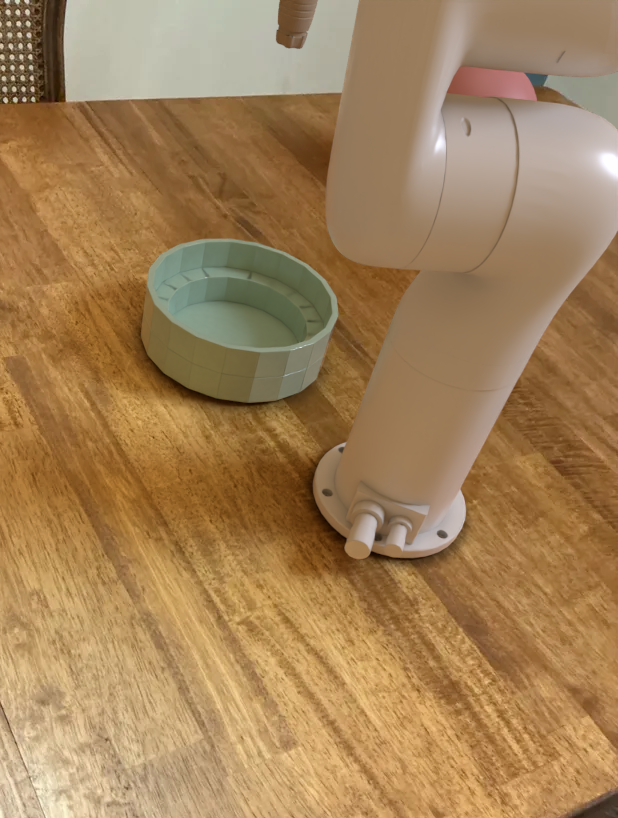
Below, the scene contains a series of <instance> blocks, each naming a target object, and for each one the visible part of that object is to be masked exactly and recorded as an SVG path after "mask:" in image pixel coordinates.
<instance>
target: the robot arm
mask: <svg viewBox="0 0 618 818" xmlns="http://www.w3.org/2000/svg"><path fill="white" fill-rule="evenodd" d="M357 3H358V4H357V8H356V14H355V20H354V23H353V31H352V36H351V41H350V45H349V46H350V47H349V52H348V56H347V63H346V69H345V74H344V79H343V84H342V90H341V95H340V101H339V107H338V112H337V118H336V123H335V126H334V127H335V128H334V133H333V139H332V145H331V151H330V156H329V162H328V168H327V176H326V184H325V197H324V199H325V200H324V212H325V222H326V228H327V233H328V236H329V238H330V241H331V242H332V244H333V246H334V248H335V249H336V250H337V251H338V252H339V253H340V254H341V255H342V256H343V257H344V258H346V259H347V260H350V261H351V262H353V263H355V264H359V265H363V266H368V267H375V268H382V269H396V270H407V271H409V270H410V271H419V272H418V273H417V274H416V276H415V277H413V279H412V281H411V282H410V284H409V285H408V286H407V287H406V290H405V291H404V293H403V294H402V295H401V297H400V299H399V301H398V304H397V306H396V308H395V310H394V313H393V316H392V318H391V320H390V323H389V326H388V328H387V331H386V334H385V337H384V339H383V341H382V345H381V347H380V350H379V353H378V355H377V358H376V361H375V364H374V367H373V369H372V372H371V374H370V377H369V379H368V382H367V385H366V388H365V390H364V392H363V396H362V399H361V401H360V405H359V407H358V410H357V412H356V415H355V418H354V420H353V423H352V426H351V428H350V431H349V434H348V436H347V439H346V441H345V442H342V443H339V444H338V445H335V446H333V447H332V448H331V449H330V450H328V451H327V452H326V453H325V454H324V455H323V456H322V458H321V459H320V460H319V462H318V465H317V467H316V469H315V472H314V476H313V480H312V494H313V497H314V500H315V504H316V506H317V507H318V509H319V511H320V514H321V515H322V516H323V518H324V519H325V520H326V521H327V523H328V524H329V525H330V526H331V527H332V528H333V529H334V530H335V531H336V532H338V533H339V535H341V536H342V537H344V538H345V539H346V541H345V544H344V547H343V548H344V551H345V554H346V555H348V556H349V557H351V558H353V559H356V560H364V559H367V558H369V556H370V554H371V552H374V553H376V554H380V555H382V556H386V557H390V558H395V559H396V558H398V559H399V558H400V559H417V558H424V557H428V556H431V555H434V554H438V553H439V552H441V551H443V550H445V549H446V548H448V547H449V546H451V544H453V542H454V541H455V540H456V539H457V537H458V535H460V532H461V530H462V529H463V527H464V523H465V521H466V515H467V506H466V502H465V497H464V495H463V492H462V490H461V488H462V487H463V485H464V482H465V480H466V478H467V477H468V475H469V472H470V471H471V469H472V468H473V465H474V464H475V462H476V460H477V457H478V456H479V454H480V452H481V451H482V448H483V446H484V444H485V442H486V441H487V439H488V437H489V435H490V433H491V431H492V430H493V428H494V425H495V424H496V422H497V420H498V418H499V416H500V415H501V412H502V410H503V409H504V407H505V405H506V403H507V401H508V399H509V397H510V395H511V394H512V392H513V390H514V388H515V386H516V385H517V382H518V381H519V378H521V376H522V374H523V372H524V369H526V366H527V364H528V362H529V360H530V359H531V357H532V356H533V353H534V351H535V349H536V347H538V344H539V343H540V341H541V340H542V339H541V338H542V337H543V335H544V333H545V332H546V330H547V328H548V327H549V325H550V324H551V322H552V320H553V318H554V317H555V316H556V315H557V313H558V311H559V310H560V308H561V307H562V306H563V304H564V303H565V301H566V300H567V299H568V298H569V296H570V295H571V294H572V292H573V291H574V290H575V288H576V287H577V286H578V285H579V284H580V283H581V281H582V280H583V279H584V278H585V277H586V275H587V274H588V273H589V272H590V271H591V269H592V268H593V267H594V266H595V265H596V263H597V262H598V261H599V259H600V258H601V257H602V256H603V254H604V253H605V251H606V250H607V249H608V247H609V246H610V244H611V243H612V241H613V240H614V238H615V237H616V235H617V233H618V128H616V126H615V125H614V124H612V123H611V122H610V121H609V120H607V119H606V118H604V117H603V116H600V115H599V114H597V113H594V112H593V111H590V110H586V109H584V108H581V107H577V106H574V105H570V104H569V105H568V104H564V103H559V102H550V101H541V100H537V101H533V100H524V99H514V98H505V97H496V96H491V97H479V96H470V95H460V94H451V93H447V91H448V88H449V86H450V84H451V81H452V79H453V77H454V75H455V74H456V72H457V70H458V69H459V68H460V67H464V66H467V67H475V68H484V69H494V70H504V71H514V72H524V73H525V74H532V75H533V74H534V75H535V74H536V75H543V76H554V77H555V76H556V77H568V78H569V77H570V78H599V77H603V76H608V75H612V74H615V73H618V0H358V2H357Z"/></svg>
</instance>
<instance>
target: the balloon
mask: <svg viewBox="0 0 618 818" xmlns="http://www.w3.org/2000/svg"><path fill="white" fill-rule="evenodd" d="M447 93H451V94H460V95H470V96H479V97H491V96H496V97H505V98H514V99H524V100H533V101H538V97H537V94H536V91H535V88H534V86H533V84H532V82H531V80H530V78H529V77H528V76H527V73H524V72H514V71H504V70H494V69H484V68H475V67H467V66H464V67H460V68H459V69H458V70H457V72H456V74H455V75H454V77H453V79H452V81H451V84H450V86H449V88H448V91H447Z"/></svg>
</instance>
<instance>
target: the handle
mask: <svg viewBox="0 0 618 818" xmlns="http://www.w3.org/2000/svg"><path fill="white" fill-rule="evenodd" d="M318 1H319V0H279V2H278V11H277V25H278V27H277V28H278V29H276V32H275V42H276V43H277V44H278V45H280V46H283V47H284V48H286V49H297V50H301V49H303V48H304V46H305V43H306V40H307V37H308V34H309V33H308V31H310V29H311V26H312V22H313V19H314V15H315V12H316V9H317V6H318Z"/></svg>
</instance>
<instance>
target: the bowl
mask: <svg viewBox="0 0 618 818" xmlns="http://www.w3.org/2000/svg"><path fill="white" fill-rule="evenodd" d="M338 307H339V305H338V299H337V296H336V294H335V292H334V290H333V289H332V287H331V285H330V284H329V283H328V281H327V280H326V278H324V277H323V276H322V275H321V274H320V273H318V272H317V271H316V269H314V268H313V267H311V266H310V265H309V264H308V263H306V262H304V261H302V260H300V259H299V258H297V257H295V256H294V255H292V254H290V253H288V252H286V251H283V250H281V249H277V248H275V247H271V246H268V245H266V244H262V243H259V242H254V241H249V240H242V239H237V238H236V239H235V238H200V239H196V240H191V241H188V242H182V243H178V244H177V245H175V246H173V247H170V248H169V249H167V250H165V251H163V252H162V253H160V254H159V255H158V256H157V258H155V260H154V261H153V263H152V264H151V265H150V267H148V272H147V279H146V286H145V296H144V304H143V311H142V320H141V328H140V330H141V331H140V339H141V341H142V344H143V346H144V349H145V352H146V354H147V356H148V358H149V359H150V360H151V361H152V362H153V363H154V364H155V366H156V367H158V369H159V370H160V371H161V372H162V373H163V374H165V375H166V376H168V377H170V379H172V380H174V381H176V382H177V383H178V384H179V385H182V386H183V387H185V388H187V389H189V390H191V391H193V392H194V391H195V392H197V393H200V394H202V395H205V396H209V397H211V398H214V399H218V400H224V401H233V402H240V403H246V404H247V403H248V404H250V403H251V404H252V403H263V402H276V401H278V400H282V399H285V398H288V397H291V396H293V395H297V394H299V393H301V392H303V391H304V390H305V389H307V388H308V387H309V386H310V385H312V383H314V382H315V381H316V380H317V378H318V376H319V374H320V372H321V370H322V367H323V365H324V363H325V361H326V360H325V359H326V356H327V354H328V350H329V347H330V343H331V340H332V337H333V334H334V332H335V328H336V325H337V322H338V318H339V308H338Z"/></svg>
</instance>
